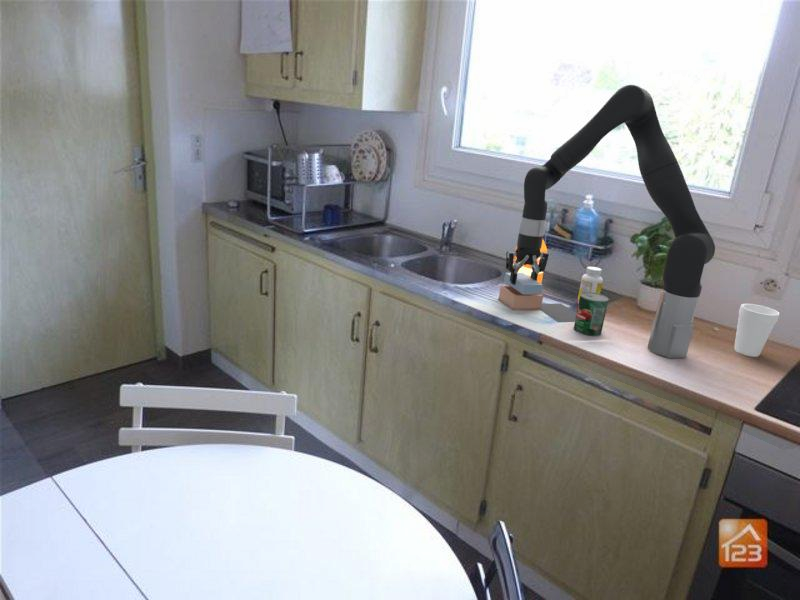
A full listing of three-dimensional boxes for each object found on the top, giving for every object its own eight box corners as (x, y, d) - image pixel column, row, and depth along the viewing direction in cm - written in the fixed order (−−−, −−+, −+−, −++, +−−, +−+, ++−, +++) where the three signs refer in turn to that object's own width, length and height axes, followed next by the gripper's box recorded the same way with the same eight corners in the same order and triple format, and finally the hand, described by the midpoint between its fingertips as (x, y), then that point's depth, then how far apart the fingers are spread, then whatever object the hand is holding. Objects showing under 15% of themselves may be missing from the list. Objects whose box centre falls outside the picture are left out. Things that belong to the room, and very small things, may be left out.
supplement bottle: (594, 303, 193) (602, 266, 188) (599, 309, 186) (607, 272, 182) (574, 300, 193) (582, 264, 189) (578, 307, 187) (586, 269, 183)
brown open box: (540, 310, 180) (543, 295, 178) (512, 311, 177) (514, 295, 175) (525, 299, 189) (527, 285, 187) (498, 300, 186) (500, 285, 184)
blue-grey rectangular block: (541, 294, 176) (542, 284, 175) (523, 294, 174) (524, 285, 173) (521, 281, 188) (522, 272, 187) (503, 281, 186) (505, 272, 185)
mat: (589, 322, 173) (589, 321, 173) (557, 323, 170) (558, 322, 170) (560, 304, 188) (560, 303, 188) (531, 305, 184) (531, 303, 184)
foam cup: (731, 342, 168) (744, 301, 164) (767, 352, 162) (781, 310, 158) (725, 351, 161) (738, 308, 156) (762, 362, 155) (777, 317, 151)
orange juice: (540, 288, 204) (550, 234, 197) (527, 292, 197) (537, 236, 191) (522, 282, 208) (531, 229, 202) (509, 286, 202) (517, 231, 196)
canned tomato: (606, 334, 165) (614, 298, 162) (591, 339, 160) (599, 302, 157) (582, 325, 171) (589, 290, 167) (567, 329, 166) (574, 294, 162)
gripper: (516, 234, 170) (507, 288, 175) (558, 235, 174) (548, 287, 180) (504, 229, 177) (497, 280, 182) (545, 230, 181) (536, 280, 186)
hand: (522, 283), depth 181 cm, fingers closed on blue-grey rectangular block, 6 cm apart
